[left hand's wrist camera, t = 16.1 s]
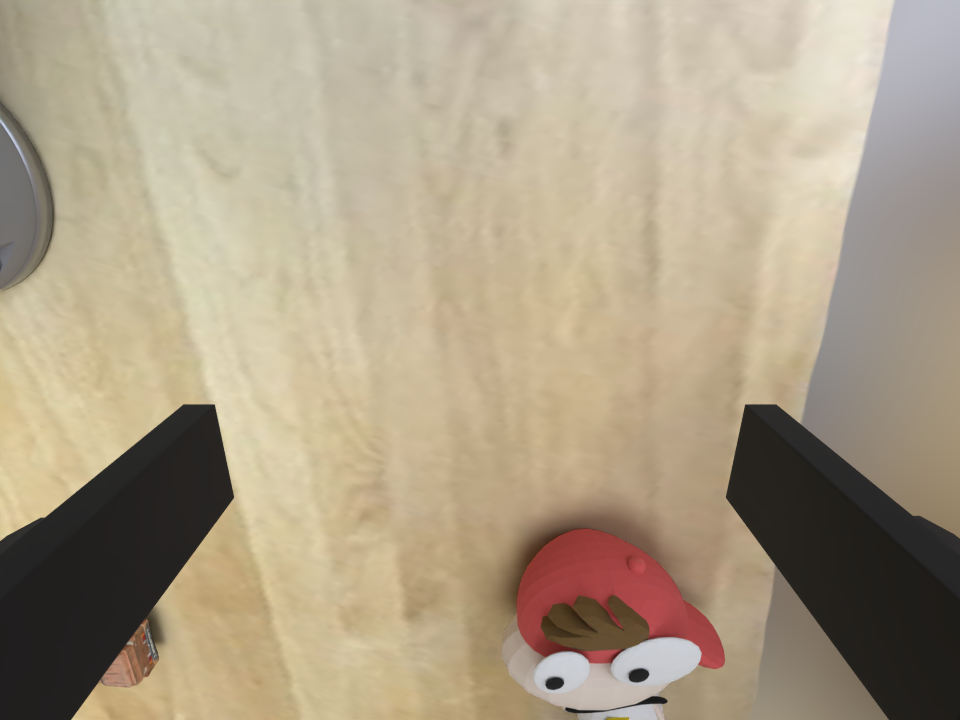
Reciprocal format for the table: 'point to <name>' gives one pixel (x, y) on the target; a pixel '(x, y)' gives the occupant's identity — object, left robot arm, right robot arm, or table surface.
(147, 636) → the toy car
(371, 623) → the table surface
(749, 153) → the table surface
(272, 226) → the table surface
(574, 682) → the toy
